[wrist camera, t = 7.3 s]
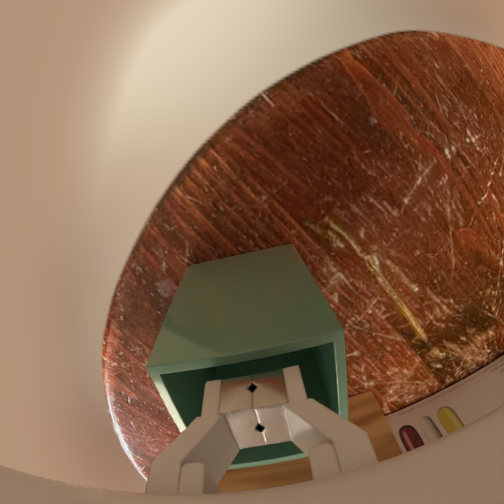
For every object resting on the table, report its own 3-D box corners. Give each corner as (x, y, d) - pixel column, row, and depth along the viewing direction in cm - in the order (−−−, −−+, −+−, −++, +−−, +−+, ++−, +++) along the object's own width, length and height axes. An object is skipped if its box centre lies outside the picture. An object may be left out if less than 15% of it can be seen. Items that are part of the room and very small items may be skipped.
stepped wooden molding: (184, 427, 23) (172, 514, 15) (371, 390, 23) (411, 470, 15) (205, 463, 25) (201, 540, 17) (369, 431, 25) (399, 503, 16)
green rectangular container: (205, 291, 23) (140, 198, 13) (292, 273, 23) (292, 163, 13) (231, 450, 18) (167, 497, 7) (329, 431, 18) (375, 465, 7)
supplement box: (512, 344, 23) (563, 391, 15) (493, 417, 27) (526, 461, 18) (379, 415, 24) (416, 493, 15) (382, 475, 28) (404, 533, 19)
